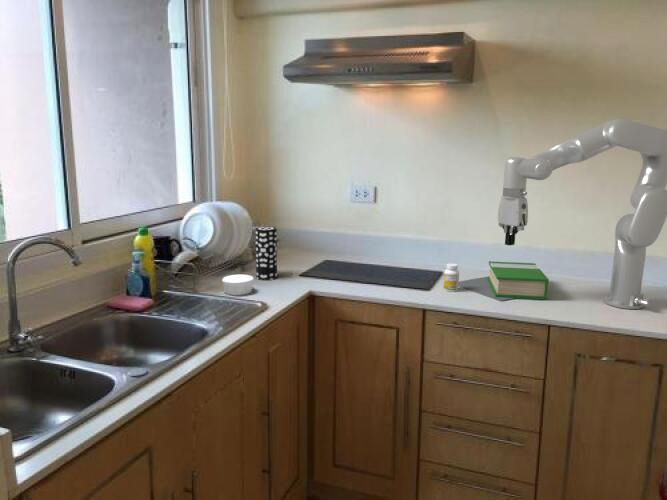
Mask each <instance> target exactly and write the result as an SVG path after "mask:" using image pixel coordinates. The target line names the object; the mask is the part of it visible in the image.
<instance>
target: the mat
mask: <svg viewBox="0 0 667 500" xmlns="http://www.w3.org/2000/svg"><path fill="white" fill-rule="evenodd" d="M488 277H490V275H489V276H484V277H476V278H471V279H465V280H459V284H458V287H459V288H463V289H465V290H468V291H471V292H474V293H477V294H479V295H481V296H485V297H488V298H491V299H494V300H496V301H499V302H506V301H510V300H515V299H517V298H505V297H496V296H495V294H494V292H493V290H492V288H491V286H490V284H489V282H488V280H487V278H488Z"/></svg>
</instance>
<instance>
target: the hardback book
mask: <svg viewBox="0 0 667 500" xmlns="http://www.w3.org/2000/svg"><path fill="white" fill-rule="evenodd" d="M488 265H489V276H490V277H488V276H487V277H488V278H487V280H488V282H489V284H490V286H491V288H492V290H493V292H494V294H495V296H496V297H505V298H516V299H526V300H527V299H528V300H548V291H549V281H550V280H549V277H548V276H547V275H545V273H544V272H543V271H542V270H541V268H539V266H538V265H537V264H536V263H534V262H510V261H509V262H508V261H491V260H490V261H488Z"/></svg>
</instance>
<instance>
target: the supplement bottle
mask: <svg viewBox="0 0 667 500" xmlns="http://www.w3.org/2000/svg"><path fill="white" fill-rule="evenodd" d="M458 267H459V264H457V263H447V264H446V269H445V270H444V274H443V275H444V276H443V290H444V291H446V292H457V291H459V286H458V284H459V281H460V271H459V270H458Z"/></svg>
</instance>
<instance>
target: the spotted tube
mask: <svg viewBox="0 0 667 500" xmlns="http://www.w3.org/2000/svg"><path fill="white" fill-rule="evenodd" d="M254 230H255V231H254V232H255V234H254V235H255V236H254V237H255V238H254V239H255V274H256V275H255V277H256V278H255V279H256V280H259V281H273V280H276V279H278V251H277V250H278V249H277V248H278V244H277V243H278V242H277V241H278V238H277V237H278V236H277V235H278V234H277V233H278V232H277V227H274V226H257V227H255V228H254Z"/></svg>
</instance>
